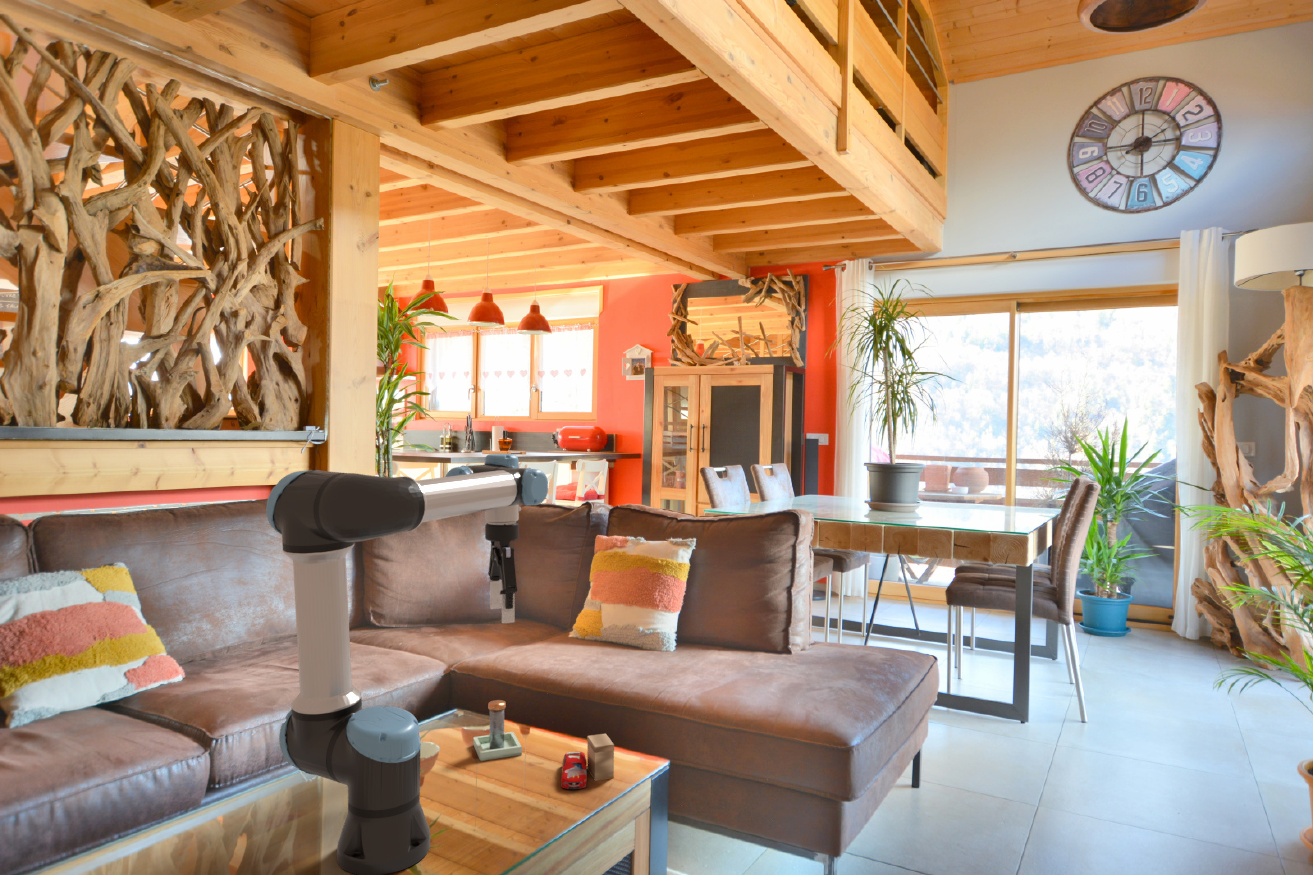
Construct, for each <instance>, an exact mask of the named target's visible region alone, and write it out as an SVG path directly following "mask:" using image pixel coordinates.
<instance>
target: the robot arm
mask: <svg viewBox="0 0 1313 875" xmlns="http://www.w3.org/2000/svg"><path fill="white" fill-rule="evenodd" d="M519 463H520V461H519V457H518V456H517V455H516V454H512V453H492V454H491V453H490V454H487V455H486V456H485V460H484V463H483V464H476V465H475V464H474V465H461V466H456V467H453V468H451V469H450V470H448V471H447V473H446V475H445V476H444V477H435V478H429V479H419V480H416V479H414V478H412V477H410V476H395V477H388V476H378V475H377V476H376V475H369V474H361V473H354V472H337V471H327V470H326V471H325V470H319V469H314V470H312V469H308V470H298V471H294V472H291V473H289V474H286V475H285V476H283V477H281V479H279V481H278V482H277V483H276V485H274V486H273V487H272V489H271V491H270V493H269V495H268V498H267V502H266V508H265V509H266V512H265V513H266V517H267V521H268V523H269V525H270V527H271V528H273V529H274V530H275V532H276V533H278V534H280V535H281V539H282V540H281V542H282V552H283V554H285V555H286V556H287V557H289V559H291V560H292V565H293V569H292V570H293V584H294V585H293V586H294V602H295V603H294V604H295V623H296V642H297V645H296V646H297V659H298V660H297V661H298V662H297V663H298V680H299V681H298V682H299V694H298V695H296V697H295V698H294V699H293V700H292V702H291V709H290V710H289V711H288V713H287V714H286V716H285V720H284V721H285V722H283V723H282V724H281V726H280V730H279V735H278V736H279V738H278V742H279V749H280V752H281V753H282V756H283V758H284V759H285V760H286V762H287V763H288V764H289V765H291V766H292V767H295V768H296V769H298V771H301V772H304V773H305V774H308V775H314V776H317V777H321V778H324V779H327V780H329V781H333V782H337V783H338V784H339V783H341V784H343V785H345V786H347V814H346V817H345V820H344V824H343V826H342V829H341V832H340V834H339V839H338V841H337V847H336V861H337V863H338V865H339V867H340V869H342V870H344V871H346V872H347V873H350V874H353V875H387V874H393V873H396V872H399V871H402V870H403V871H404V870H405V869H407V868H410V867H412V866H413V865H415V864H417V863H418V862H420V861H422V860H423V859H424V858H425V857H426V855H427V854H428V853H429V851H430V849H431V831H430V827H429V826H430V825H429V824H428V822H427V819H426V818H427V817H426V815H425V813H424V810H423V807H422V804H421V801H420V799H421V798H420V797H421V796H420V792H421V790H420V789H421V745H422V744H421V742H422V740H421V735H420V725H419V721H418V720H417V718H416V717H415V715H414V714H412V713H411V712H410V711H408V710H405V709H404V708H402V707H401V708H400V707H398V706H391V705H388V706H386V707H385V706H383V705H377V706H376V705H375V706H369V707H368V706H367V707H365V708H363V700H362V696H363V695H362V692H361V691H360V689H358V688H357V687H356V686H354V685H353V680H352V663H351V662H352V660H351V659H352V658H351V640H350V636H351V635H350V618H349V598H348V596H349V595H348V575H347V574H348V572H347V558H346V557H347V555H348V553H349V552H350V551H351V550H352V549H353V548H354V546H355V542H356V543H357V542H364V541H369V540H376V539H379V538H384V537H388V536H393V535H397V534H402V533H405V532H407V533H408V532H410V531H414V530H416V529H417V528H419V527H420V526H421V525H422V523H427V522H431V521H437V520H442V519H447V518H453V517H458V516H464V515H469V514H473V513H479V512H484V520H485V522H487V523H486V524H484V526H485V527H484V538H485V540H487V541H489V542H490V553H489V564H488V566H489V567H488V573H487V574H488V576H489V580H490V582H489V584H490V585H489V595H490V596H489V597H490V598H489V599H490V600H489V601H490V602H489V606H490V607H489V609H490V610H498V609H500V610H501V624H512V623H515V621H516V620H515V619H516V618H515V616H516V615H515V614H516V613H515V610H516V609H515V608H516V607H515V606H516V605H515V602H516V600H515V598H516V597H515V596H516V595H515V594H516V593H517V592H518V585H517V575H516V574H517V573H516V567H515V565H516V564H515V548H514V547H511V544H510V543H511V542H513V541H516V540H518V539H519V538H520V533H519V532H520V523H518V522H517V521H519V520H520V512H521V511H522V507H521V506H522V505H523V506H528V507H529V506H537V505H541V504H542V503H543V502H544V501H545V500H546V499H547V496H548V492H549V481H548V477H547V475H546V474H545V472H543V471H542V470H540V469H538V468H537V469H536V468H531V467H525V468H523V467H520V466H519V465H520V464H519ZM520 505H521V506H520Z"/></svg>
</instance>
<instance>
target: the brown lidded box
mask: <svg viewBox="0 0 1313 875" xmlns="http://www.w3.org/2000/svg"><path fill="white" fill-rule="evenodd" d="M586 742H587V756H586V760H587V766H588V768H587V771H589V773H590V775H591V777H592V778H593V781H603V780H607V779H610V780H611V779H614V778H615V774H614V773H615V771H614V769H615V766H614V765H615V760H614V758H615V744H614V742H612V740H611V738H610V737H609V735H607V733H600V734H599V733H598V734H591V735H587V737H586Z"/></svg>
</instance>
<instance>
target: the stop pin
mask: <svg viewBox="0 0 1313 875" xmlns="http://www.w3.org/2000/svg"><path fill="white" fill-rule="evenodd" d="M487 706H488V707H487V709H488V710H489V735H490V750H492V749H499V748H504V733H505V709H506V707H507V706H506V701H505V700H502V699H495V700H491V701H489V702H488V705H487Z"/></svg>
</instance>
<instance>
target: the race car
mask: <svg viewBox="0 0 1313 875" xmlns="http://www.w3.org/2000/svg"><path fill="white" fill-rule="evenodd" d="M561 762H562V763H561V764H562V766H561V767H560V769H561V783H560V784H561V788H562V789H566V790H581V789H584V788H586V787H587V780H588V777H587V775H588V774H587V773H588V772H587V771H588V769H587V768H588V766H587V756H586V754H585V752H582V751H568V752H566V753H565V754H564V755H563V758H562V761H561Z"/></svg>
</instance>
